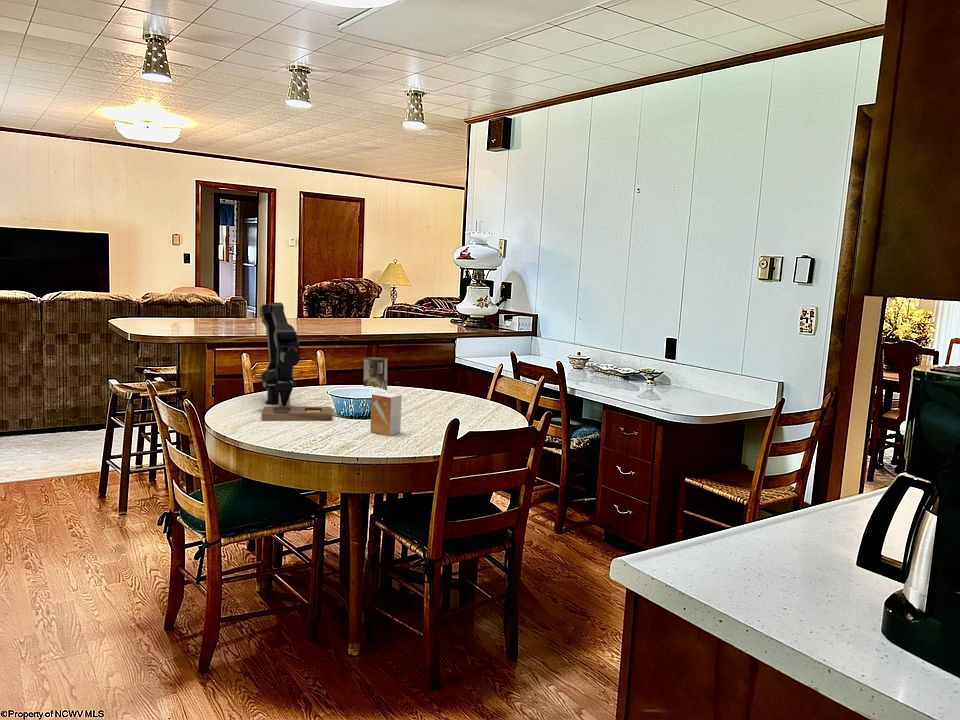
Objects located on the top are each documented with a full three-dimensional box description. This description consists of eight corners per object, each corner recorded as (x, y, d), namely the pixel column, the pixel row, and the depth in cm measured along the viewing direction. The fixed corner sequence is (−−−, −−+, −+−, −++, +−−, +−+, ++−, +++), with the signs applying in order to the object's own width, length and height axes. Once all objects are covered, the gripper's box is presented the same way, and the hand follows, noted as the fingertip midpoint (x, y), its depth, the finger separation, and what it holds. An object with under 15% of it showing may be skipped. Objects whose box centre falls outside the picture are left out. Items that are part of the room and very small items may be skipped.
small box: (369, 432, 247) (371, 394, 245) (381, 429, 252) (382, 391, 251) (389, 436, 243) (391, 397, 241) (400, 432, 248) (402, 394, 247)
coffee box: (387, 395, 314) (388, 358, 311) (383, 398, 307) (385, 359, 305) (366, 394, 314) (367, 356, 312) (362, 396, 308) (363, 358, 306)
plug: (278, 409, 275) (279, 388, 274) (289, 409, 276) (290, 388, 275) (278, 411, 271) (278, 390, 270) (289, 411, 272) (289, 390, 271)
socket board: (263, 413, 267) (263, 405, 267) (331, 413, 273) (331, 405, 272) (261, 420, 256) (261, 412, 255) (332, 420, 261) (332, 412, 261)
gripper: (263, 358, 279) (263, 399, 281) (260, 365, 261) (259, 409, 263) (294, 359, 281) (293, 399, 283) (292, 366, 263) (292, 409, 265)
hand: (284, 404), depth 273 cm, fingers open, 7 cm apart
